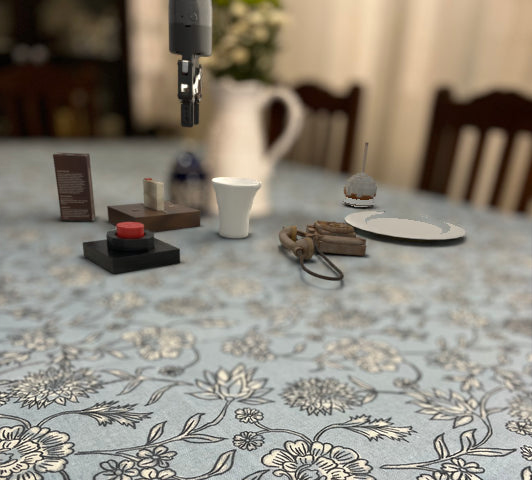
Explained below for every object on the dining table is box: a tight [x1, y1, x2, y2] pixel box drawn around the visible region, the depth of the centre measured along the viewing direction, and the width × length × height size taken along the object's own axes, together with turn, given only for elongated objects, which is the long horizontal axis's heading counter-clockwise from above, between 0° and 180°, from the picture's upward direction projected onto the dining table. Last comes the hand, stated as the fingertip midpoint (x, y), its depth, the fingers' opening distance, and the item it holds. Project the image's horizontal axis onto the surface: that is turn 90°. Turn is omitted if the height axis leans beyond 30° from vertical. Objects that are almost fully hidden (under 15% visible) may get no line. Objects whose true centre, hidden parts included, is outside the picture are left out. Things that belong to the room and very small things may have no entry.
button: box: [115, 222, 144, 238], centre depth 77 cm, size 4×4×2 cm
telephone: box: [278, 220, 367, 282], centre depth 87 cm, size 15×33×4 cm, turn 5°
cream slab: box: [142, 177, 165, 211], centre depth 98 cm, size 5×2×5 cm, turn 41°
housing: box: [82, 228, 181, 275], centre depth 79 cm, size 11×10×4 cm
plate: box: [344, 210, 467, 243], centre depth 108 cm, size 25×25×2 cm
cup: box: [211, 176, 262, 239], centre depth 95 cm, size 9×9×10 cm
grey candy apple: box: [342, 141, 378, 207], centre depth 128 cm, size 8×8×15 cm
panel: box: [106, 200, 201, 233], centre depth 100 cm, size 14×11×3 cm
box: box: [52, 152, 96, 222], centre depth 98 cm, size 6×4×12 cm
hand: (190, 125), depth 97 cm, fingers open, 8 cm apart
